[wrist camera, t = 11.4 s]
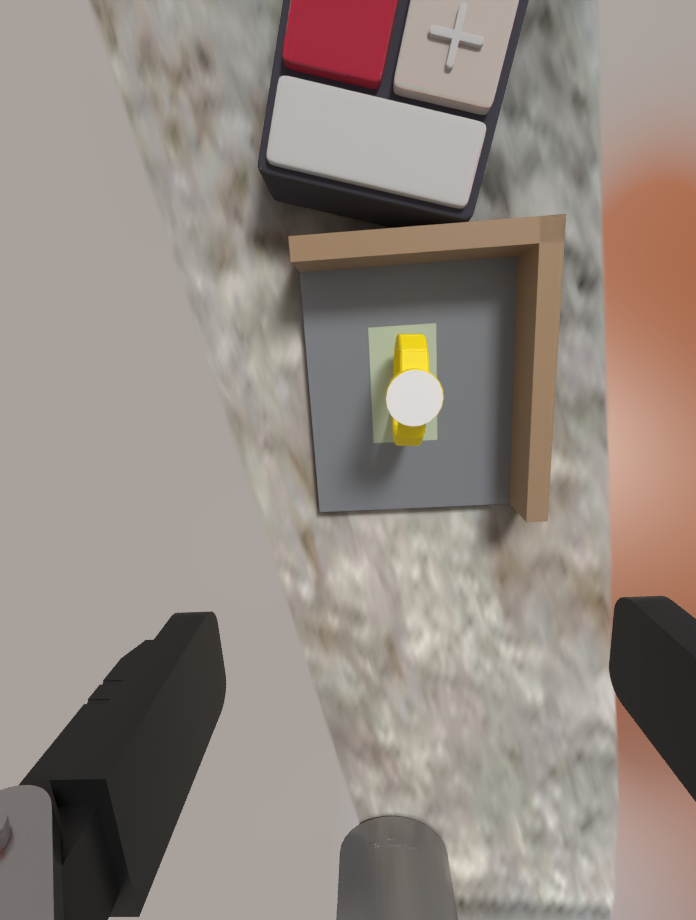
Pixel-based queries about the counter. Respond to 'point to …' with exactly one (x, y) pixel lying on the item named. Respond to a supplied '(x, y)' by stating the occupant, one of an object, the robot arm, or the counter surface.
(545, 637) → the counter surface
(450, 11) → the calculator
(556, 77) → the counter surface
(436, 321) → the corner tray
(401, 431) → the watch
